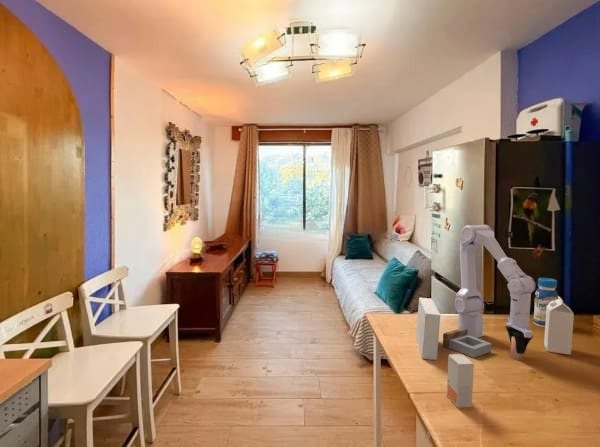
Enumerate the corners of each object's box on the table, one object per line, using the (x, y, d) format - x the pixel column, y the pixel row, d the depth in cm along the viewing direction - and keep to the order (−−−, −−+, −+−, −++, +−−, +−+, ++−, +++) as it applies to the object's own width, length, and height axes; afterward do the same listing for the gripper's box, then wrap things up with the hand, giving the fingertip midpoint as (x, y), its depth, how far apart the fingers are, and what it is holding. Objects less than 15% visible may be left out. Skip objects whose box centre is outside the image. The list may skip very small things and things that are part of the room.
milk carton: (566, 348, 139) (570, 297, 138) (571, 355, 133) (574, 302, 131) (543, 344, 142) (547, 294, 141) (547, 351, 136) (550, 299, 134)
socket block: (466, 342, 143) (466, 334, 143) (491, 351, 135) (491, 343, 134) (448, 347, 138) (449, 339, 138) (473, 357, 129) (474, 349, 129)
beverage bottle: (556, 324, 165) (559, 278, 163) (556, 329, 158) (559, 282, 156) (533, 320, 169) (536, 276, 168) (532, 325, 162) (535, 279, 160)
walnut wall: (463, 340, 145) (464, 327, 145) (466, 341, 144) (467, 328, 144) (442, 346, 139) (443, 333, 139) (446, 348, 138) (446, 334, 137)
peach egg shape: (514, 354, 133) (515, 335, 132) (526, 358, 130) (527, 338, 129) (508, 356, 131) (509, 337, 130) (519, 361, 128) (520, 341, 127)
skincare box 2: (445, 395, 105) (447, 354, 104) (460, 395, 106) (462, 353, 105) (456, 408, 99) (458, 364, 98) (472, 407, 100) (474, 363, 99)
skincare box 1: (438, 361, 127) (440, 314, 126) (421, 359, 128) (423, 313, 127) (430, 337, 148) (432, 297, 147) (415, 336, 149) (417, 296, 148)
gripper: (499, 304, 137) (497, 341, 138) (516, 317, 122) (513, 358, 123) (520, 305, 136) (518, 342, 137) (539, 319, 121) (537, 360, 122)
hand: (517, 350), depth 130 cm, fingers closed on peach egg shape, 4 cm apart
